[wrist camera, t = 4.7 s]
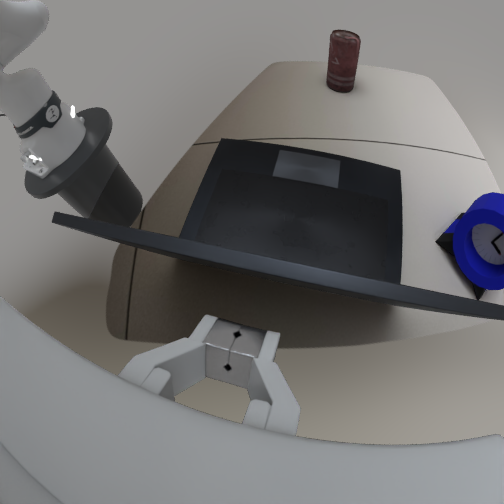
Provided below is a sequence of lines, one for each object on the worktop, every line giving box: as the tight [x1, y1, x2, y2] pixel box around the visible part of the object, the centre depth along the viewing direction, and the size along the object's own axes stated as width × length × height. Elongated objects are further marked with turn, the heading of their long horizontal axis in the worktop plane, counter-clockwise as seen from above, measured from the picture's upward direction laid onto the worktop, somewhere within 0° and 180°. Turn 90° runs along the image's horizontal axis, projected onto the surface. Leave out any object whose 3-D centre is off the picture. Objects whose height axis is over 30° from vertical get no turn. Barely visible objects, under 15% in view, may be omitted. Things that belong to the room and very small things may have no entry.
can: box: [326, 30, 361, 92], centre depth 43 cm, size 6×6×14 cm
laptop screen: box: [52, 212, 504, 320], centre depth 22 cm, size 21×30×1 cm
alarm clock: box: [435, 192, 504, 301], centre depth 26 cm, size 12×12×15 cm
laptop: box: [179, 138, 402, 284], centre depth 37 cm, size 21×30×2 cm
